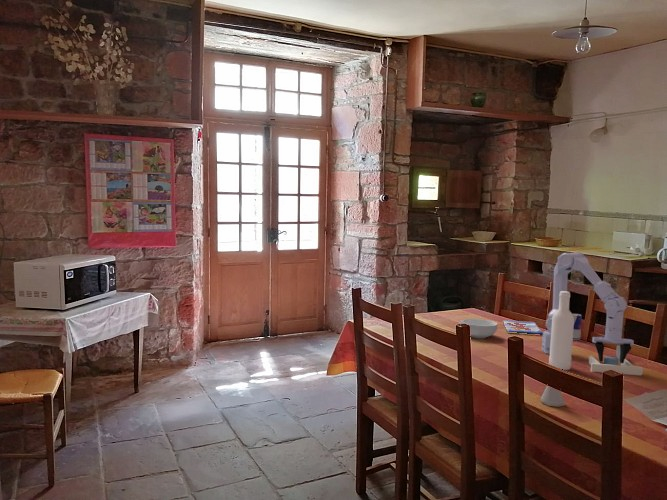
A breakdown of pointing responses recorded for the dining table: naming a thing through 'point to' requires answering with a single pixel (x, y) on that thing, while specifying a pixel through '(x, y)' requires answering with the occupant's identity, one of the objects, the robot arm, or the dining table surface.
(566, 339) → the bottle
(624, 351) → the robot arm
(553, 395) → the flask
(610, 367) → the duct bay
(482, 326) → the cereal bowl
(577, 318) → the energy drink
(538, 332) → the blue white book
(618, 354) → the duct cover
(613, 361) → the light blue block
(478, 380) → the dining table surface
